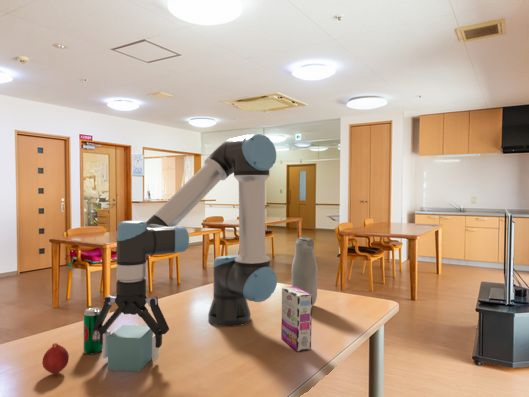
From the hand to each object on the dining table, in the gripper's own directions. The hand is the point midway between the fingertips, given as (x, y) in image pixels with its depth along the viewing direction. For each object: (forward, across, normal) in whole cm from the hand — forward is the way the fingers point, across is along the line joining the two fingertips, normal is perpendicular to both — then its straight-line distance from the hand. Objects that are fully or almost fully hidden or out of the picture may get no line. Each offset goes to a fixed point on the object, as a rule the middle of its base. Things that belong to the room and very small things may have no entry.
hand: (130, 357), depth 103 cm
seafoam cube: (+1, 0, 0) cm, 1 cm away
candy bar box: (+1, -44, -18) cm, 48 cm away
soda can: (+2, +14, -6) cm, 15 cm away
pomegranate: (+2, +16, +8) cm, 18 cm away
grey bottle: (+1, -47, -56) cm, 73 cm away
